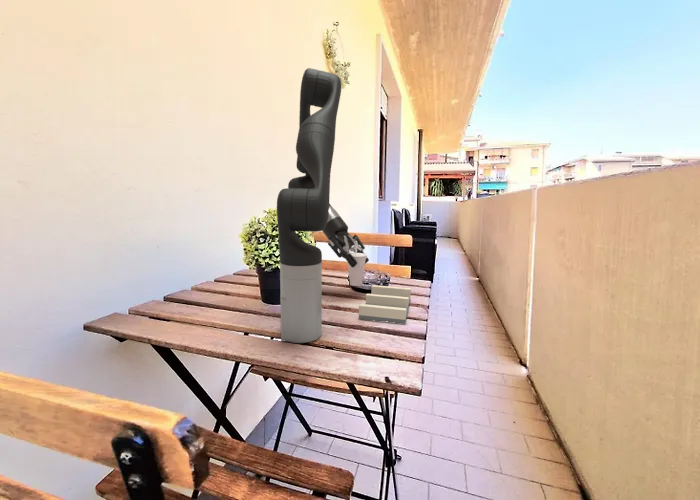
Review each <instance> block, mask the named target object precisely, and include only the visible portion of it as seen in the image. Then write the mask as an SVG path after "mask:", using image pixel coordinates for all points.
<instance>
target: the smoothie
mask: <svg viewBox="0 0 700 500" xmlns="http://www.w3.org/2000/svg"><path fill="white" fill-rule="evenodd" d="M350 254H351V255H352V256H353V257H354V259H355V260H356V261H357V265H356V266H355V267H351V266H350V264H349V263H348V262H347V266H348V276H349V285H350V286H353V287H359V286H362V284H363V278H364V272H365V266H366V264H365V260H366V258H368V255H367V254H366V253H357V241H355V253H354V252H350Z"/></svg>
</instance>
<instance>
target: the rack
mask: <svg viewBox="0 0 700 500" xmlns="http://www.w3.org/2000/svg"><path fill="white" fill-rule="evenodd" d="M411 289H412V288H410V287H403V286H402V287H400V286H399V287H398V286H388V285H376V284H372V285H371V289H370V290H371V293H365V303H360V304H359V305H358V320H360V319H366V320H365V321H369V320H375V321H374V322H379V321H388V322H395V323H394V324H397V323H405V322H407V318H408V317H407V316H408V313H409V307H410V302H411ZM388 322H387V323H388ZM405 324H406V323H405Z"/></svg>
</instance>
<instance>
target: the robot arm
mask: <svg viewBox="0 0 700 500" xmlns="http://www.w3.org/2000/svg"><path fill="white" fill-rule="evenodd" d="M300 84H301V85H300V92H299V93H300V94H299V119H298V120H299V123H298V125H299V128H298V133H297V139H296V143H295V144H296V145H295V152H296V156H297V157H296V169H297V171H298V172H300V174H301V173H302V174H304V175H303V176H297V177H294V178H292V179H290V180H289V182H288V186H287V187H288V188H282V189H281V190H279V192H278V195H277V199H276V218H277V230H278V232H277V233H278V234H277V235H278V252H279V253H278V254H279V271H280V272H279V280H280V282H279V283H280V287H279V288H280V290H279V291H280V298H279V299H280V341H281V342H288V343H294V344H304V343H309V342H311V343H312V342H313V341H316V340H318V339H320V338H321V336H322V327H323V325H322V318H323V317H322V315H323V314H322V312H323V311H322V309H323V308H322V304H323V303H322V301H323V299H322V298H323V297H322V294H323V293H322V291H323V289H322V285H323V284H322V283H323V279H322V278H323V270H322V269H323V268H322V267H323V265H322V264H323V263H322V261H323V253H322V250H321V249H320V248H319V247H318V246H315V245H313V244H310V243H307V242H306V241H304V240H303V239H301V238H300V237H299V236H298V235H297V233H296V232H308V233H309V232H311V233H312V232H313V233H314V232H315V233H316V232H317V233H318V232H322V233H323V234H324V236H325V237H326V238H327V240H328V242H327V244H328V246H329V248H331V250H332V251H333V252H334V254H336V256H337V257H338V258H339V259H341V258H343V259H345V261H346V262H347V264H348V263H349V264H350V266H351V267H355V266H356V265H357V261H356V260H355V259H354V257H353V256H352V255H351V254H350V253H355V241H357V253H364V250H365V249H366V247H365V245H364V244H363V242H362V241H361V239H360V238H359V236H358V235H357V234H354V235H351V234H350V233H349V231H348V230H349V226H348V224H347V223H346V222H345V221H344V218H342V217H341V216H340V214H339V213H338V211H337V210H336V209H335V208H334V207H333V206H332V205H331V203H330V193H331V172H332V171H331V170H332V166H333V165H332V164H333V157H334V152H335V141H336V124H337V115H338V110H339V106H340V100H341V95H342V81H341V78H340V76H339V75H337V74H335V73H333V72H328V71H325V70H324V71H323V70H320V69H315V68H312V67H309V68H306V69H305V70H304V71H303V75H302V79H301V83H300ZM311 106H313V107H316V108H317V107H318V108H320V109H319V110H317V111H315V112H314V113H313V114H311ZM364 254H365V253H364ZM369 261H370V260H369V257H367V258H366V260H365V265H366V264H367V263H368V262H369Z"/></svg>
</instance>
